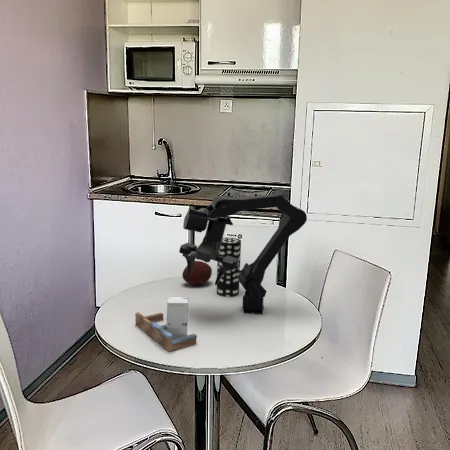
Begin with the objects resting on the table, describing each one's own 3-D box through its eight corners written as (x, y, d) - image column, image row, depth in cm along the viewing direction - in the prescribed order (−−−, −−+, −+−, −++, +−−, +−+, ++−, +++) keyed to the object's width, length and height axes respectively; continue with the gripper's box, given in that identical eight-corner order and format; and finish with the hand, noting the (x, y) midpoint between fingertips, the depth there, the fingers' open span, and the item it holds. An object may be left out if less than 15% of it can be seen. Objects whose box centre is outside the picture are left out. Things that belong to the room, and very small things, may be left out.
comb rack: (134, 324, 152) (134, 310, 151) (161, 318, 157) (161, 304, 156) (168, 352, 136) (168, 336, 135) (196, 343, 141) (197, 328, 140)
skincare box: (165, 342, 141) (166, 302, 138) (167, 335, 145) (167, 296, 142) (187, 342, 141) (188, 303, 138) (188, 335, 145) (188, 297, 143)
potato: (215, 286, 188) (216, 262, 186) (186, 290, 183) (187, 266, 181) (206, 278, 196) (206, 256, 193) (178, 282, 190) (178, 259, 188)
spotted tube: (239, 297, 177) (241, 244, 173) (216, 296, 177) (217, 243, 173) (238, 289, 185) (240, 238, 181) (216, 288, 186) (218, 237, 181)
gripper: (178, 229, 152) (167, 276, 154) (235, 247, 147) (222, 295, 150) (190, 225, 162) (179, 270, 165) (243, 242, 158) (231, 287, 161)
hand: (202, 280), depth 160 cm, fingers open, 9 cm apart
